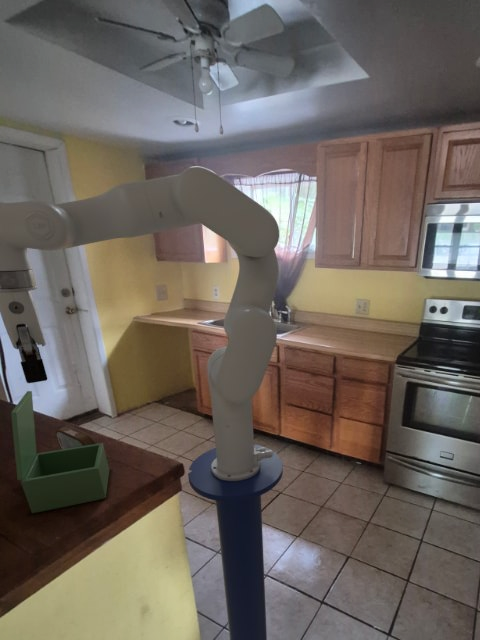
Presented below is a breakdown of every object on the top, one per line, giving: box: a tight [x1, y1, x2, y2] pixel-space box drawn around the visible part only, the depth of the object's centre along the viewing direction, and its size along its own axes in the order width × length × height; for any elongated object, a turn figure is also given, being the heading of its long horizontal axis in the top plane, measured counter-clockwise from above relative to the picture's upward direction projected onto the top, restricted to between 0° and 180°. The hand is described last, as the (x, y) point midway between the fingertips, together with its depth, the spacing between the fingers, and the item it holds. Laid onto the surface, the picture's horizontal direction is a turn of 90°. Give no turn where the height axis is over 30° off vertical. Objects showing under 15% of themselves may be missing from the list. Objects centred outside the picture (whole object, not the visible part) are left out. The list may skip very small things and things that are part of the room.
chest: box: [20, 442, 110, 514], centre depth 81 cm, size 14×11×8 cm
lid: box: [10, 390, 37, 481], centre depth 75 cm, size 14×11×1 cm
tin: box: [54, 424, 97, 450], centre depth 92 cm, size 15×3×8 cm, turn 59°
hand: (35, 374), depth 71 cm, fingers open, 9 cm apart
